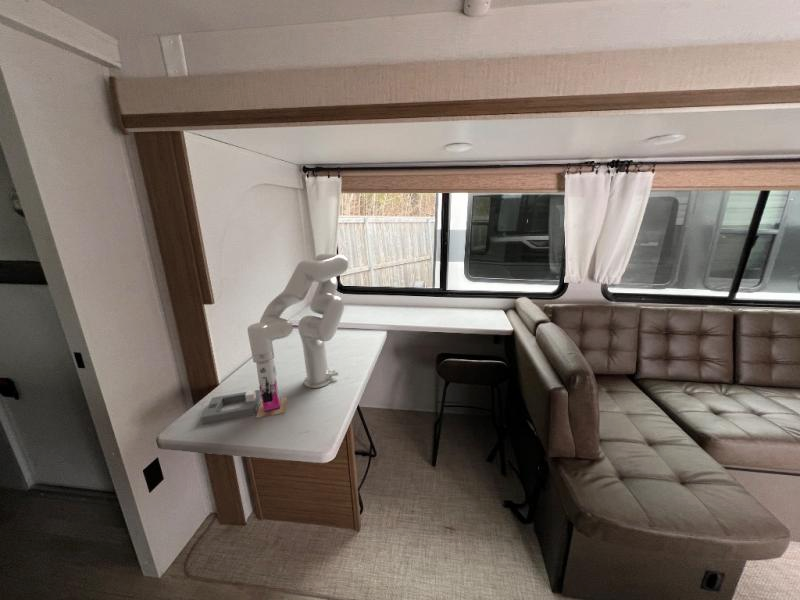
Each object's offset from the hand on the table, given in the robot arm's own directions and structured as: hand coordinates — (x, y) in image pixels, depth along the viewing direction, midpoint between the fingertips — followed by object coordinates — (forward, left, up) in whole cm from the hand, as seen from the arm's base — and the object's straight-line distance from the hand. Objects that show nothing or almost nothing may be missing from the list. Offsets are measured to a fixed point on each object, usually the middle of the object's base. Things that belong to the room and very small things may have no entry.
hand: (270, 394), depth 116 cm
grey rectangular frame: (+15, -4, -6) cm, 17 cm away
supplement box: (0, 0, -6) cm, 6 cm away
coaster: (0, 0, -6) cm, 6 cm away
